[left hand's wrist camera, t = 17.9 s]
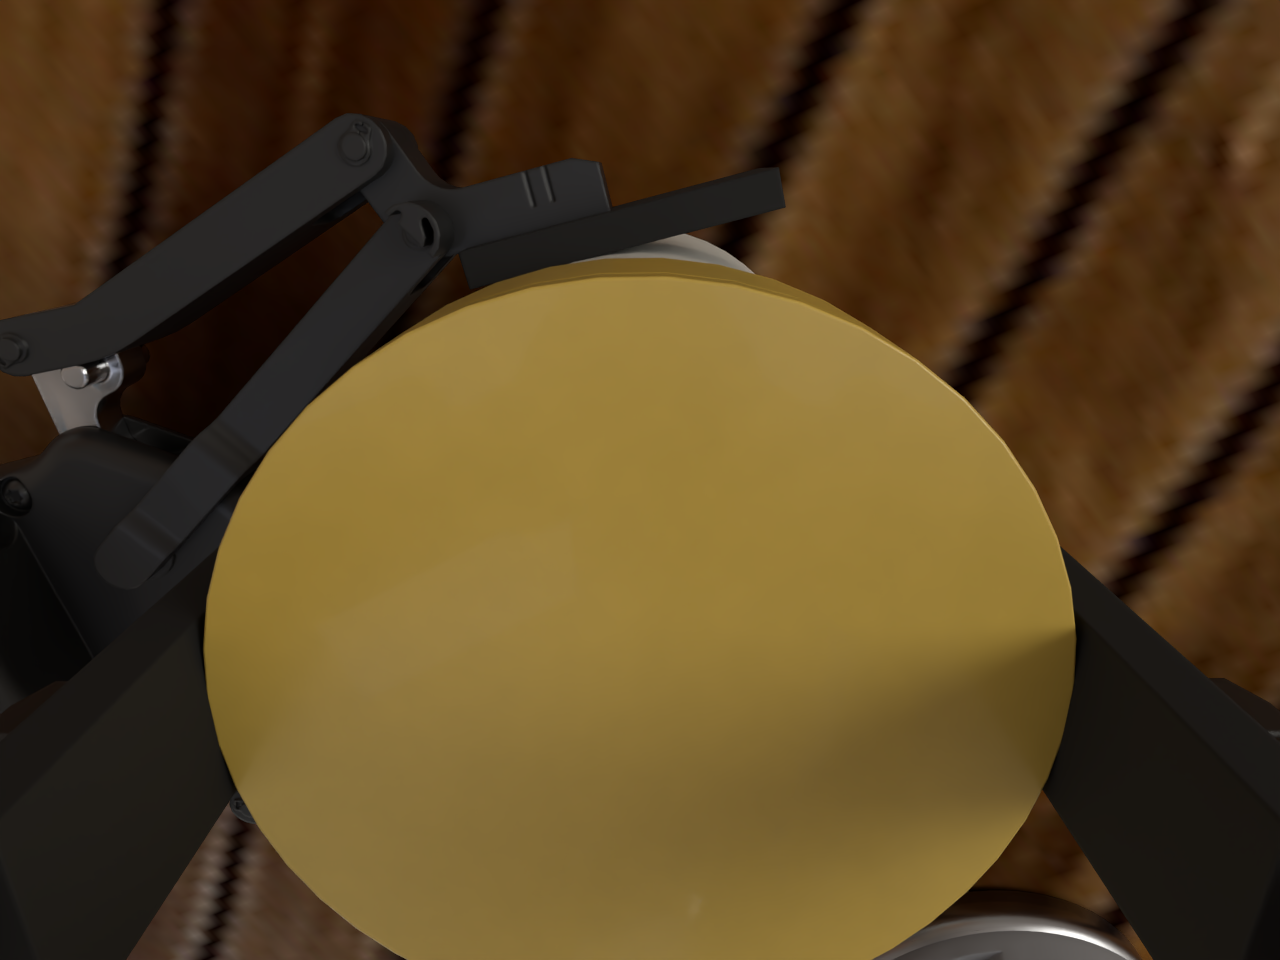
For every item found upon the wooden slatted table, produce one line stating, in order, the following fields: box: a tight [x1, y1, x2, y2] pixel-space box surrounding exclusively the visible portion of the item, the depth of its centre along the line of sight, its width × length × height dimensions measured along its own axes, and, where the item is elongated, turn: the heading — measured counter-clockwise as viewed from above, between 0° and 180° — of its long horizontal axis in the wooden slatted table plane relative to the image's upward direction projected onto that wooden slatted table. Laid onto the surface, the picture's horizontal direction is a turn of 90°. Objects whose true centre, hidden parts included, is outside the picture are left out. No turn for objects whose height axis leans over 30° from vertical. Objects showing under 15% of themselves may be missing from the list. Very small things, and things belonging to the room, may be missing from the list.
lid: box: [203, 258, 1076, 960], centre depth 11 cm, size 11×11×2 cm
